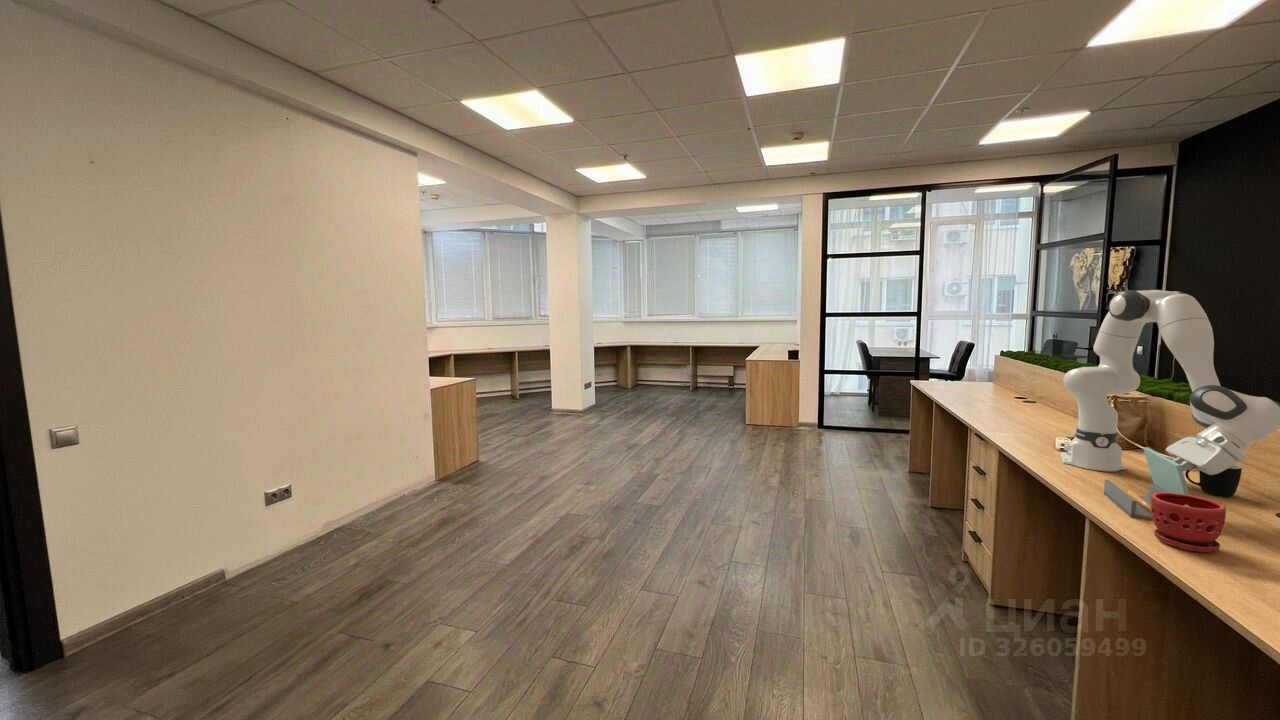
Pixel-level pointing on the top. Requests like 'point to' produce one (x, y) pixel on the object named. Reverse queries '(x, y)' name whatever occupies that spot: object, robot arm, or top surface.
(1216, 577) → the top surface
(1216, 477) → the mug
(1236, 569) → the top surface
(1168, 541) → the plant pot
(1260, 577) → the top surface
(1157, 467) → the lid
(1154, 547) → the top surface
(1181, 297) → the robot arm
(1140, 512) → the grey rectangular box
